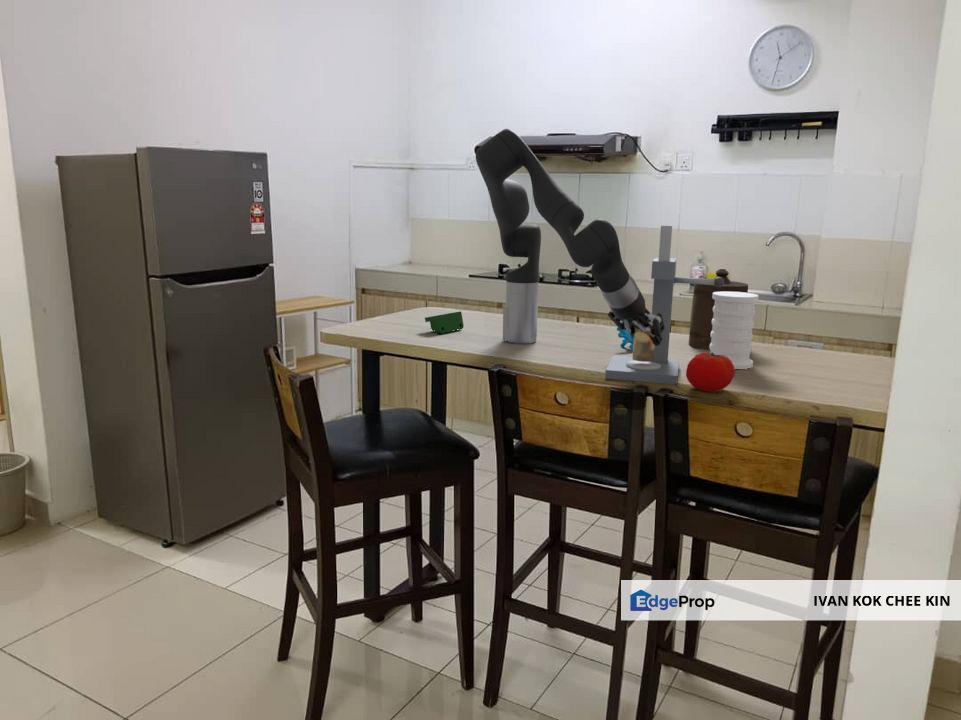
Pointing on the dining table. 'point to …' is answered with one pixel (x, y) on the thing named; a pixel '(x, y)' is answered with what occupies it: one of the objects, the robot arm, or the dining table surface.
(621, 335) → the gear
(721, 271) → the wooden container
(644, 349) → the disc
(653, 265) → the press
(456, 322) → the dark green angular piece
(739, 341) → the decorative container
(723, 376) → the tomato
